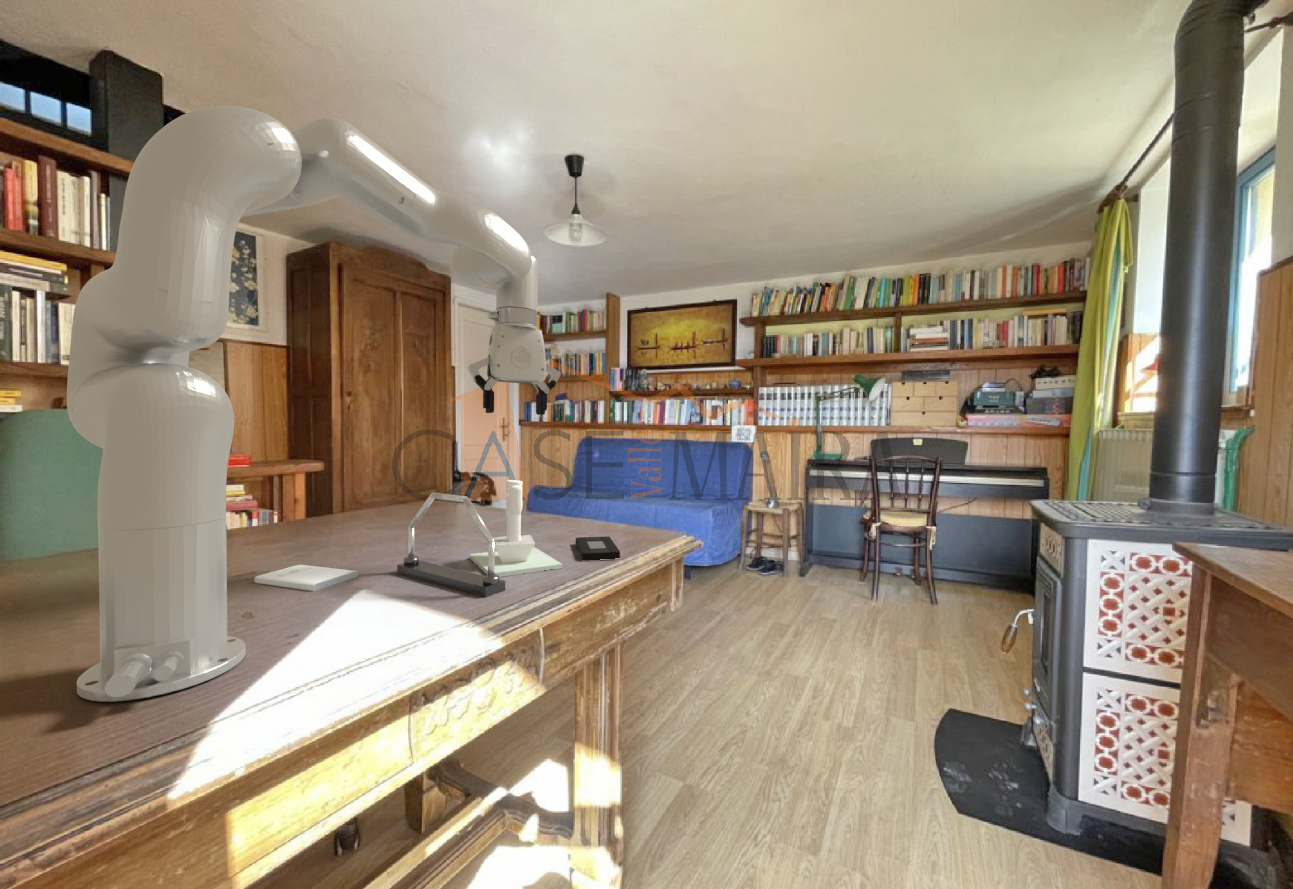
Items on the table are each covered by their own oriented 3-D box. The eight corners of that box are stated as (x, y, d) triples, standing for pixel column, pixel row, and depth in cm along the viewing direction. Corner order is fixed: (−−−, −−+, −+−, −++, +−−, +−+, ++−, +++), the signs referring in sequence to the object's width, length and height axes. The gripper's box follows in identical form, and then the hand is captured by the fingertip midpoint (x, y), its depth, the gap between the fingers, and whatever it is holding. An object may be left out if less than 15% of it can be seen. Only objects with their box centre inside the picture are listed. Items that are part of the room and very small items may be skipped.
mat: (562, 568, 93) (562, 563, 93) (490, 578, 86) (490, 573, 86) (533, 550, 106) (534, 546, 106) (469, 558, 99) (469, 554, 99)
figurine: (530, 552, 102) (530, 477, 101) (535, 564, 93) (536, 482, 92) (492, 554, 99) (493, 477, 99) (494, 567, 90) (495, 483, 90)
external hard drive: (313, 594, 78) (254, 585, 82) (358, 579, 86) (302, 572, 90) (313, 584, 78) (254, 575, 82) (358, 570, 86) (302, 562, 90)
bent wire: (506, 590, 80) (507, 499, 80) (486, 597, 77) (487, 502, 76) (417, 567, 92) (417, 487, 91) (396, 573, 88) (396, 490, 88)
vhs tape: (609, 545, 114) (609, 536, 114) (620, 561, 100) (620, 551, 100) (575, 546, 113) (575, 537, 113) (582, 563, 99) (582, 553, 99)
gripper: (474, 311, 87) (473, 411, 88) (568, 324, 96) (566, 415, 97) (464, 319, 93) (463, 412, 94) (553, 330, 103) (551, 415, 103)
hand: (515, 413), depth 95 cm, fingers open, 9 cm apart
